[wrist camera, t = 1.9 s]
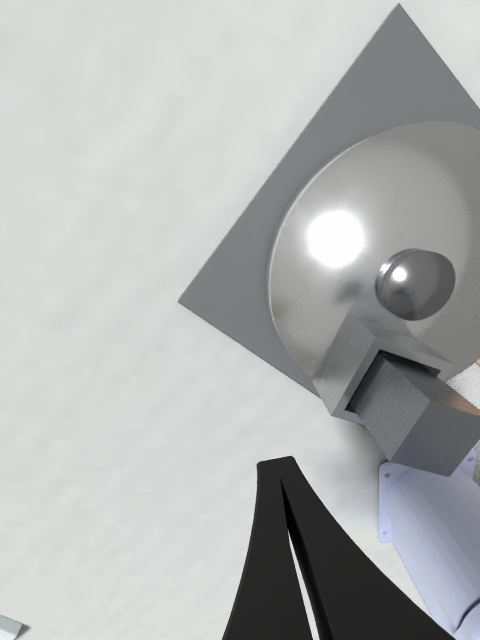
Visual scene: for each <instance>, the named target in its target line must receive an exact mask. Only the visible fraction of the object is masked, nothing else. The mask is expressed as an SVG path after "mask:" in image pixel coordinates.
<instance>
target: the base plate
mask: <svg viewBox="0 0 480 640" xmlns="http://www.w3.org/2000/svg"><path fill="white" fill-rule="evenodd" d="M430 121H441V122H455V123H459V124H463V125H467V126H471V127H475V128H477V129H479V130H480V109H479V108H478V106H477V105H476V104H475V102H474V101H473V100H472V98H471V97H470V96H469V94H468V93H467V92H466V90H465V89H464V88H463V86H462V85H461V84H460V83H459V81H458V80H457V79H456V77H455V76H454V75H453V73H452V72H451V71H450V69H449V68H448V67H447V65H446V64H445V63H444V61H443V60H442V59H441V58H440V56H439V55H438V54H437V52H436V51H435V50H434V48H433V47H432V46H431V44H430V43H429V42H428V40H427V39H426V38H425V36H424V35H423V34H422V33H421V31H420V30H419V29H418V27H417V26H416V25H415V23H414V22H413V21H412V19H411V18H410V17H409V15H408V14H407V13H406V11H405V10H404V9H403V8H402V6H401V5H400V4H398V5H397V6H396V7H395V8H394V9H393V10H392V11H391V12H390V14H389V15H388V17H387V18H386V19H385V21H384V22H383V23H382V25H381V26H380V27H379V29H378V30H377V31H376V33H375V34H374V36H373V37H372V38H371V40H370V41H369V42H368V44H367V45H366V46H365V48H364V49H363V50H362V52H361V53H360V54H359V56H358V57H357V59H356V60H355V61H354V63H353V64H352V65H351V67H350V68H349V69H348V71H347V72H346V73H345V75H344V76H343V78H342V79H341V80H340V82H339V83H338V84H337V86H336V87H335V88H334V90H333V91H332V92H331V94H330V95H329V96H328V98H327V99H326V101H325V102H324V103H323V105H322V106H321V107H320V109H319V110H318V111H317V113H316V114H315V115H314V117H313V118H312V120H311V121H310V122H309V124H308V125H307V126H306V128H305V129H304V130H303V132H302V133H301V134H300V136H299V137H298V138H297V140H296V141H295V143H294V144H293V145H292V147H291V148H290V149H289V151H288V152H287V153H286V155H285V156H284V157H283V159H282V160H281V162H280V163H279V164H278V166H277V167H276V168H275V170H274V171H273V172H272V174H271V175H270V176H269V178H268V179H267V180H266V182H265V183H264V185H263V186H262V187H261V189H260V190H259V191H258V193H257V194H256V195H255V197H254V198H253V199H252V201H251V202H250V204H249V205H248V206H247V208H246V209H245V210H244V212H243V213H242V214H241V216H240V217H239V218H238V220H237V221H236V222H235V224H234V225H233V227H232V228H231V229H230V231H229V232H228V233H227V235H226V236H225V237H224V239H223V240H222V241H221V243H220V244H219V246H218V247H217V248H216V250H215V251H214V252H213V254H212V255H211V256H210V258H209V259H208V260H207V262H206V263H205V264H204V266H203V267H202V269H201V270H200V271H199V273H198V274H197V275H196V277H195V278H194V279H193V281H192V282H191V283H190V285H189V286H188V287H187V289H186V290H185V292H184V293H183V294H182V296H181V297H180V298H179V300H178V303H180V304H181V305H183V306H184V307H186V308H187V309H189V310H190V311H192V312H193V313H195V314H196V315H198V316H199V317H201V318H202V319H204V320H205V321H207V322H208V323H209V324H211V325H212V326H214V327H215V328H217V329H218V330H220V331H221V332H223V333H224V334H226V335H227V336H229V337H230V338H232V339H233V340H235V341H236V342H238V343H239V344H241V345H242V346H244V347H245V348H246V349H248V350H249V351H251V352H252V353H254V354H255V355H257V356H258V357H260V358H261V359H263V360H264V361H266V362H267V363H269V364H270V365H272V366H273V367H275V368H276V369H278V370H279V371H280V372H282V373H283V374H285V375H286V376H288V377H289V378H291V379H292V380H294V381H295V382H297V383H298V384H300V385H301V386H303V387H304V388H306V389H307V390H309V391H310V392H312V393H313V394H315V395H316V396H317V397H319V398H320V399H321V397H320V395H319V393H318V391H317V390H316V388H315V386H314V384H313V382H312V380H313V378H311V377H310V376H309V375H307V374H306V373H305V372H304V371H303V370H302V369H301V368H300V367H299V366H298V365H297V364H296V363H295V361H294V360H293V359H292V357H291V356H290V355H289V353H288V352H287V350H286V348H285V346H284V345H283V343H282V341H281V339H280V337H279V335H278V333H277V331H276V329H275V327H274V325H273V322H272V319H271V317H270V314H269V311H268V306H267V301H266V296H265V282H264V277H265V263H266V258H267V253H268V248H269V244H270V241H271V238H272V235H273V232H274V229H275V227H276V225H277V222H278V220H279V218H280V216H281V214H282V212H283V210H284V209H285V207H286V205H287V204H288V202H289V201H290V199H291V198H292V196H293V195H294V193H295V192H296V191H297V190H298V188H299V187H300V186H301V185H302V183H303V182H304V181H305V180H306V179H307V178H308V177H309V176H310V175H311V174H312V173H313V172H314V171H315V170H316V169H317V168H318V167H319V166H320V165H322V164H323V163H324V162H326V161H327V160H328V159H330V158H331V157H333V156H334V155H335V154H337V153H338V152H340V151H342V150H344V149H346V148H347V147H349V146H351V145H353V144H355V143H357V142H360V141H362V140H364V139H367V138H369V137H372V136H374V135H377V134H379V133H382V132H384V131H387V130H389V129H392V128H395V127H399V126H403V125H408V124H412V123H419V122H430ZM357 424H359V423H357ZM359 425H360V426H362V427H363V428H365V429H366V430H367V428H366V427H365V425H363V424H359Z"/></svg>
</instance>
